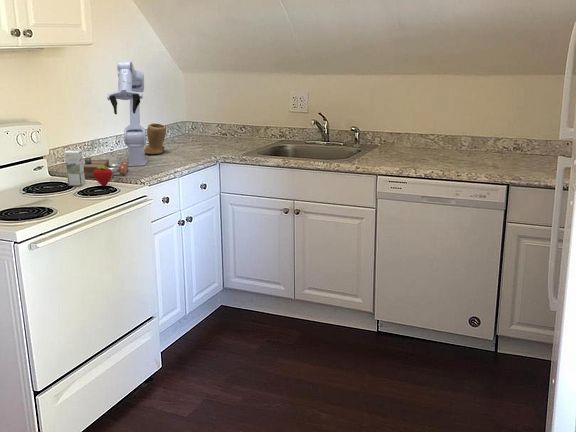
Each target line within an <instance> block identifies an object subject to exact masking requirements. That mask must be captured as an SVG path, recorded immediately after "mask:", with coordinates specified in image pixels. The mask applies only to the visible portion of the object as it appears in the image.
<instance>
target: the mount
mask: <svg viewBox="0 0 576 432" xmlns="http://www.w3.org/2000/svg"><path fill="white" fill-rule="evenodd" d="M91 162H92V164H85V163H83V167H84V176H85V180H86V179H87V180H88V179H95V178H94V175H93V172H94V171H95V170H97V169H99V168H97V167H102V166H103V165H104V167H107V164H110V160H109V159H91ZM102 162H103V163H102Z"/></svg>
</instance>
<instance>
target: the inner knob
mask: <svg viewBox="0 0 576 432" xmlns="http://www.w3.org/2000/svg"><path fill="white" fill-rule="evenodd" d="M128 164H129V161H122V162H121V163H115V164H114V163H112V164H110V163H109V164H107V167H109V168H116V167H119V165H126V172H129V169H130V166H129V165H128Z"/></svg>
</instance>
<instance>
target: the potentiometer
mask: <svg viewBox="0 0 576 432" xmlns="http://www.w3.org/2000/svg"><path fill="white" fill-rule="evenodd" d="M91 160H92V159H91V157H90V155H89V154H88V155H87V154H86V155H85V158H84V164H92V162H91Z"/></svg>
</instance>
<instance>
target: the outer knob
mask: <svg viewBox="0 0 576 432" xmlns="http://www.w3.org/2000/svg"><path fill="white" fill-rule="evenodd" d="M107 169H110V170H111V171H112V174H114V173H115V174H117V173H119V175H126V174H127V171H126V165H119V167H116V168H107Z"/></svg>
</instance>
